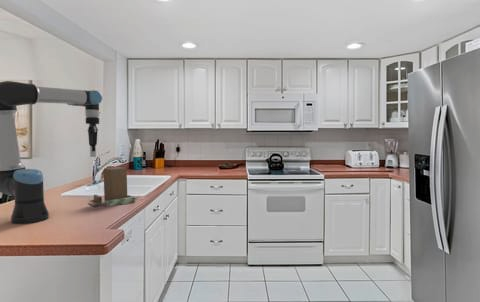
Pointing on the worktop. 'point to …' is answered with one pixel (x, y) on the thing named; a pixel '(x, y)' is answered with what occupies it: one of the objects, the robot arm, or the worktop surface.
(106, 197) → the block
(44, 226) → the worktop surface
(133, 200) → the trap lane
